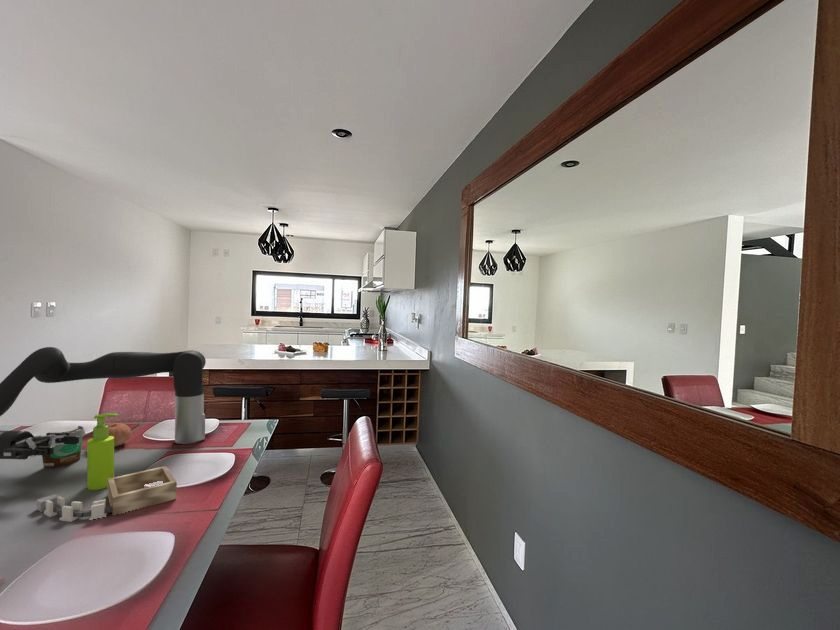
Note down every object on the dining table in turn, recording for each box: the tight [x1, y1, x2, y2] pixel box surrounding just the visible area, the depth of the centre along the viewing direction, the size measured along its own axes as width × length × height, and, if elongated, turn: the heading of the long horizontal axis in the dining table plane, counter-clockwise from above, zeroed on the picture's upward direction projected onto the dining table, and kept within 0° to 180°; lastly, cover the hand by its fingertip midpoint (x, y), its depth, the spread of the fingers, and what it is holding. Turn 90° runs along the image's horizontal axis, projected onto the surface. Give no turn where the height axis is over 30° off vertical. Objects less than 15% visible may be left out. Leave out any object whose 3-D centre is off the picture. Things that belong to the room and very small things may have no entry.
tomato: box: [106, 422, 132, 448], centre depth 141 cm, size 11×11×8 cm
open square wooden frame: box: [107, 465, 178, 516], centre depth 106 cm, size 13×13×4 cm
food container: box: [41, 425, 86, 469], centre depth 126 cm, size 12×6×10 cm, turn 168°
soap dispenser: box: [86, 412, 120, 491], centre depth 112 cm, size 6×7×20 cm
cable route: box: [36, 493, 112, 523], centre depth 97 cm, size 6×19×3 cm, turn 79°
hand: (65, 445), depth 112 cm, fingers open, 8 cm apart
